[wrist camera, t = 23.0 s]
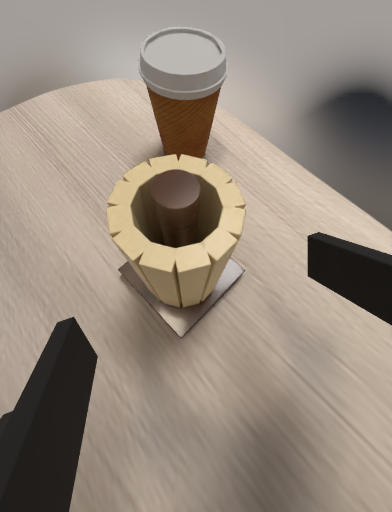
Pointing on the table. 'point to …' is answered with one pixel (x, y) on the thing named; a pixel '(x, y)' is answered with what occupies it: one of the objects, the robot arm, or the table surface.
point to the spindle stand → (179, 245)
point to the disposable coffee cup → (183, 85)
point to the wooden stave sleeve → (149, 235)
